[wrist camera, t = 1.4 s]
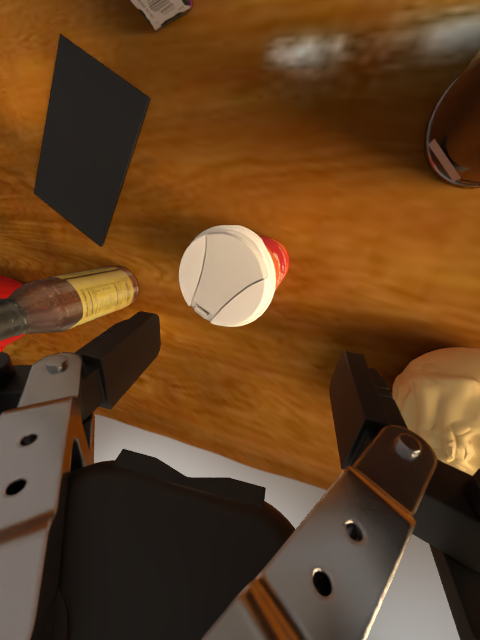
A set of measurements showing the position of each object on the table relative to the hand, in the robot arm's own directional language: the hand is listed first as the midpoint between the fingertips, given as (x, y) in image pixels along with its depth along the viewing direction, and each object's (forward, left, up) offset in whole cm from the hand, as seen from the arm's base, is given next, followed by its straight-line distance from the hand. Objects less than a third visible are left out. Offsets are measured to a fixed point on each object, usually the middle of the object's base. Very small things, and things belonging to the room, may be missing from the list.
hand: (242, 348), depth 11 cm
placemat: (+4, -33, -21) cm, 40 cm away
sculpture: (0, +20, -21) cm, 29 cm away
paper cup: (+1, -4, -21) cm, 22 cm away
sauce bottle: (+17, -20, -21) cm, 34 cm away
